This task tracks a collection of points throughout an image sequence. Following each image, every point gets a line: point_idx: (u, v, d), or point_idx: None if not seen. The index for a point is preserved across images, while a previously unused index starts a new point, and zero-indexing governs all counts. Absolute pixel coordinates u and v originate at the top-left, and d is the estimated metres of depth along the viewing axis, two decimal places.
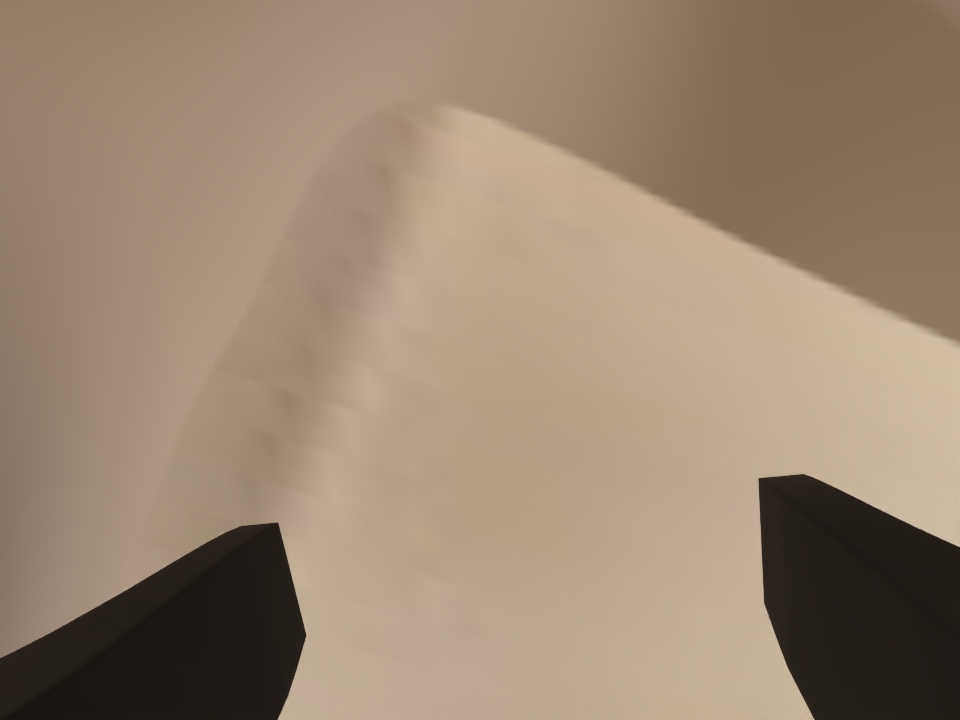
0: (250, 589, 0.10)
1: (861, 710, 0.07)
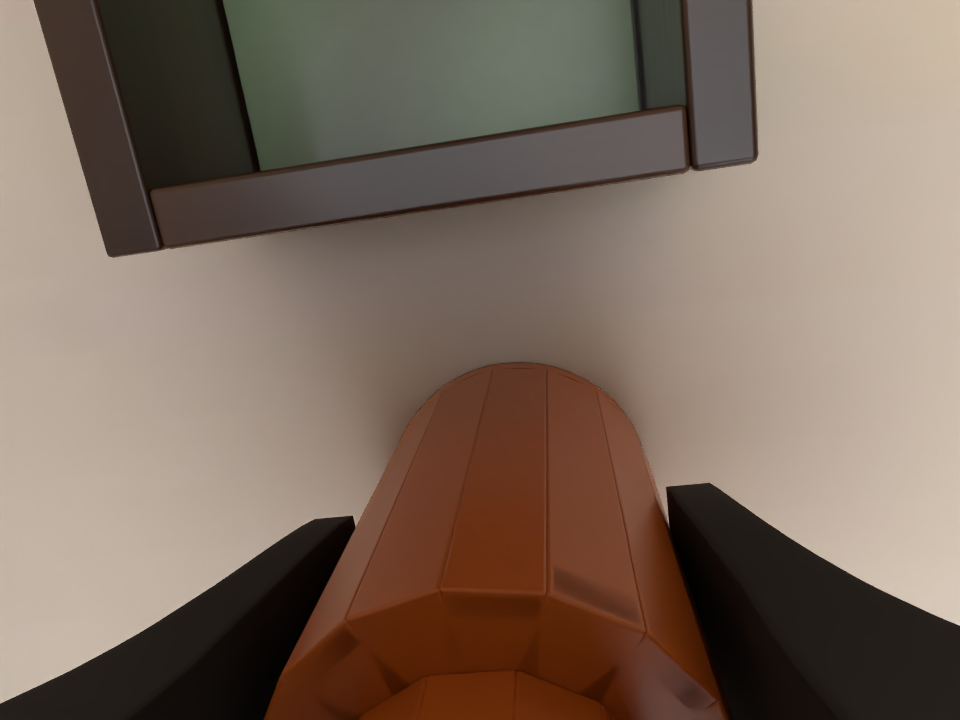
0: None
1: (736, 716, 0.07)
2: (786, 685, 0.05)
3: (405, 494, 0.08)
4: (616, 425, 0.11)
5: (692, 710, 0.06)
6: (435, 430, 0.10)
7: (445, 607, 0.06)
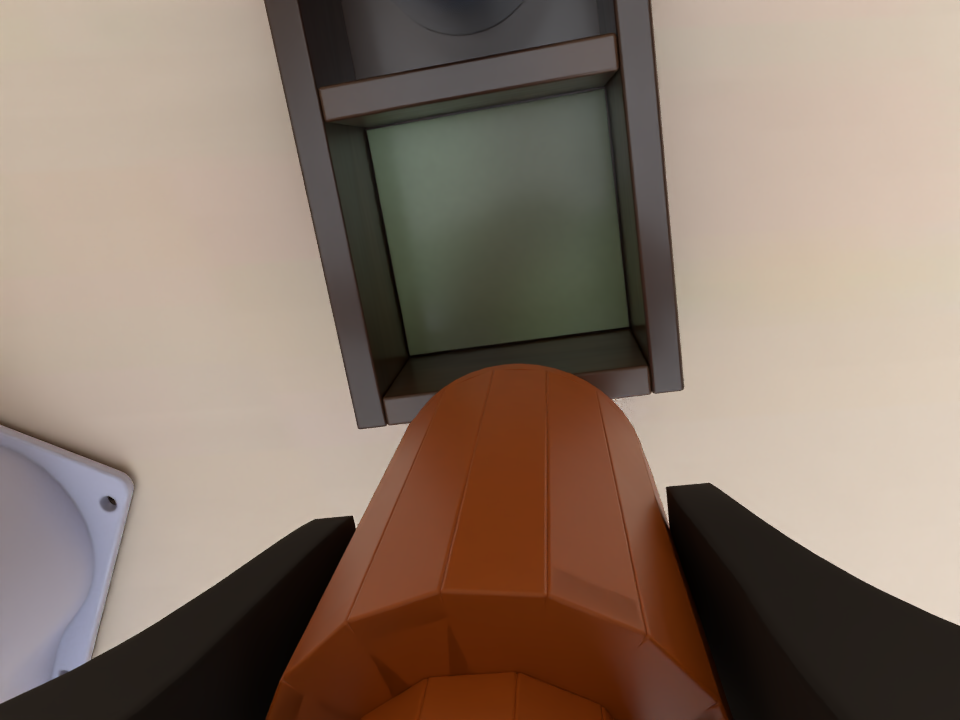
0: None
1: (736, 717, 0.07)
2: (786, 685, 0.05)
3: (405, 496, 0.08)
4: (616, 426, 0.11)
5: (692, 712, 0.06)
6: (435, 431, 0.10)
7: (446, 609, 0.06)
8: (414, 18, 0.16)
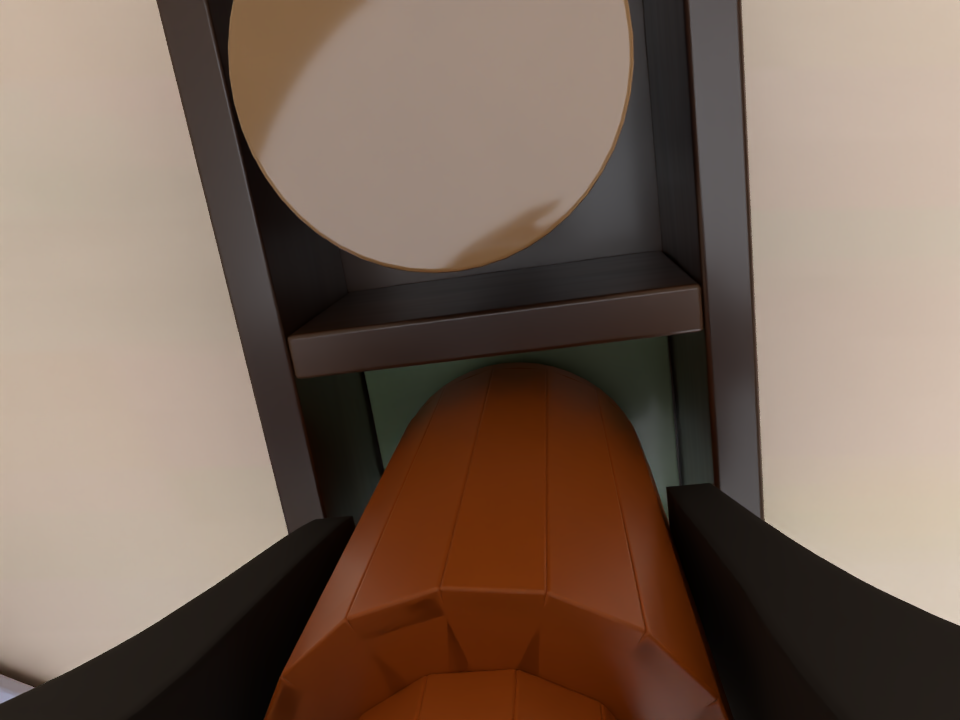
0: None
1: (736, 716, 0.07)
2: (786, 685, 0.05)
3: (405, 494, 0.08)
4: (616, 425, 0.11)
5: (692, 709, 0.06)
6: (435, 430, 0.10)
7: (445, 606, 0.06)
8: None
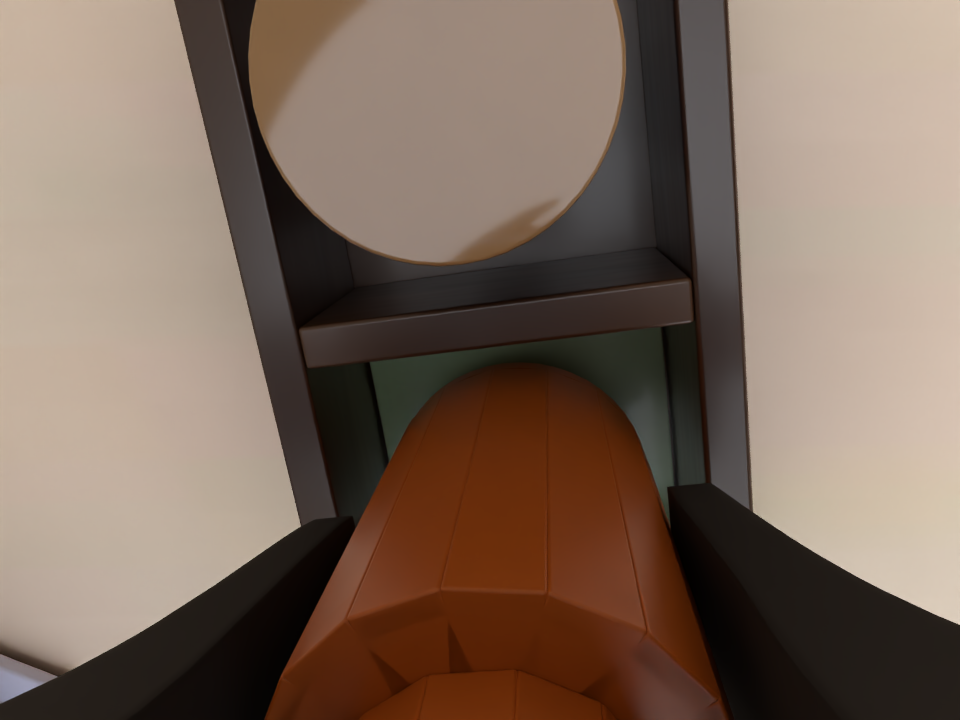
0: None
1: (737, 716, 0.07)
2: (788, 685, 0.05)
3: (405, 494, 0.08)
4: (616, 425, 0.11)
5: (692, 710, 0.06)
6: (435, 430, 0.10)
7: (446, 607, 0.06)
8: None
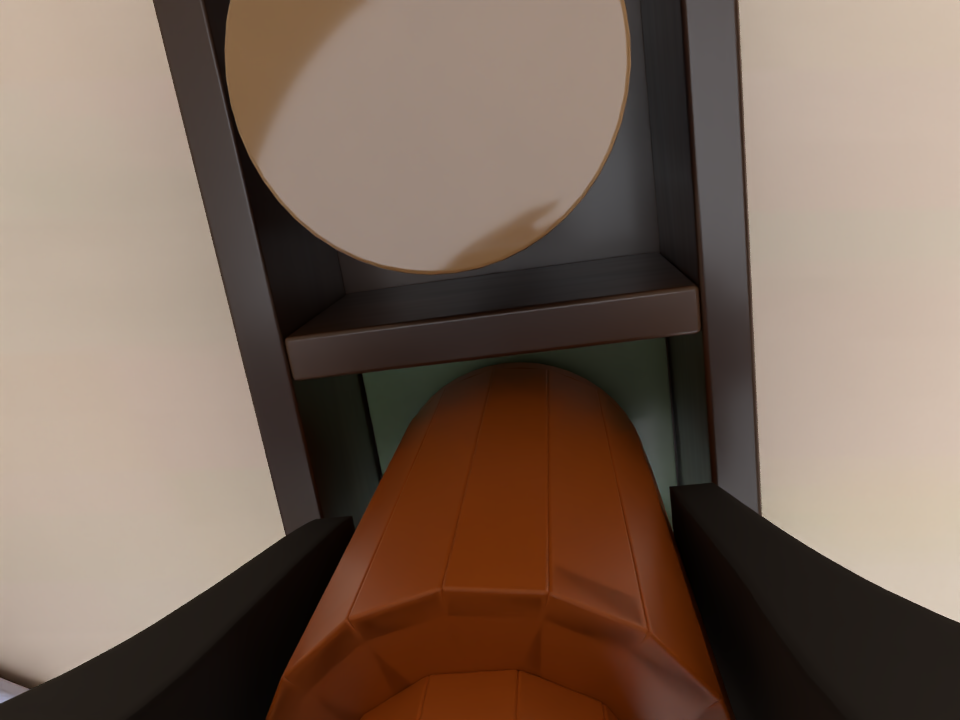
0: None
1: (740, 716, 0.07)
2: (792, 685, 0.05)
3: (406, 494, 0.08)
4: (617, 425, 0.11)
5: (694, 710, 0.06)
6: (436, 430, 0.10)
7: (447, 607, 0.06)
8: None
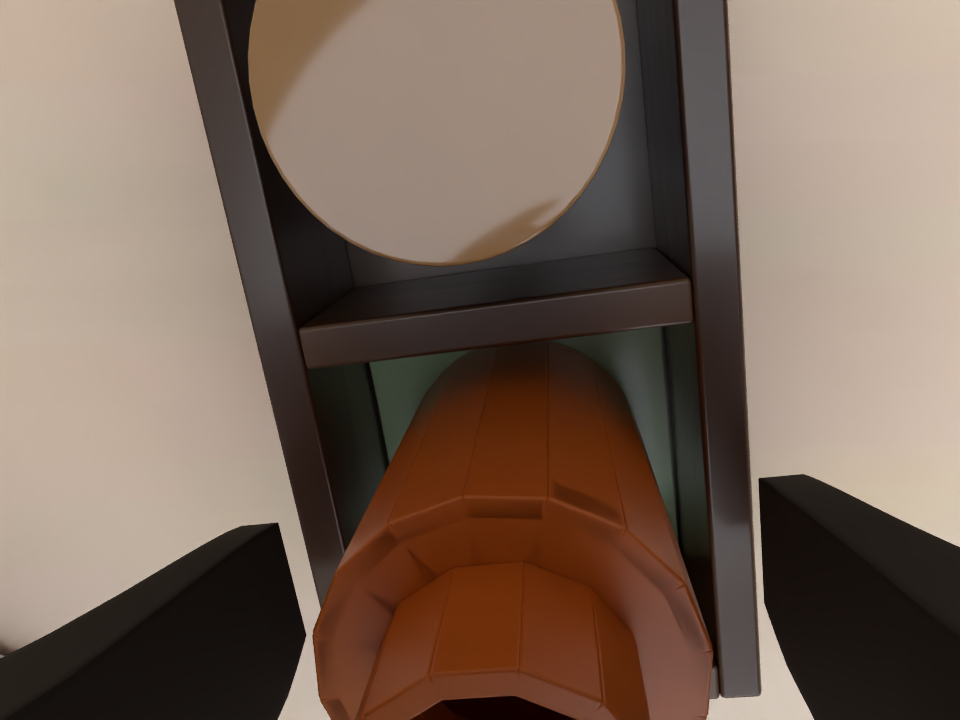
0: (250, 589, 0.10)
1: (861, 710, 0.07)
2: None
3: (429, 439, 0.10)
4: (608, 390, 0.13)
5: (663, 592, 0.08)
6: (451, 392, 0.12)
7: (468, 511, 0.08)
8: None
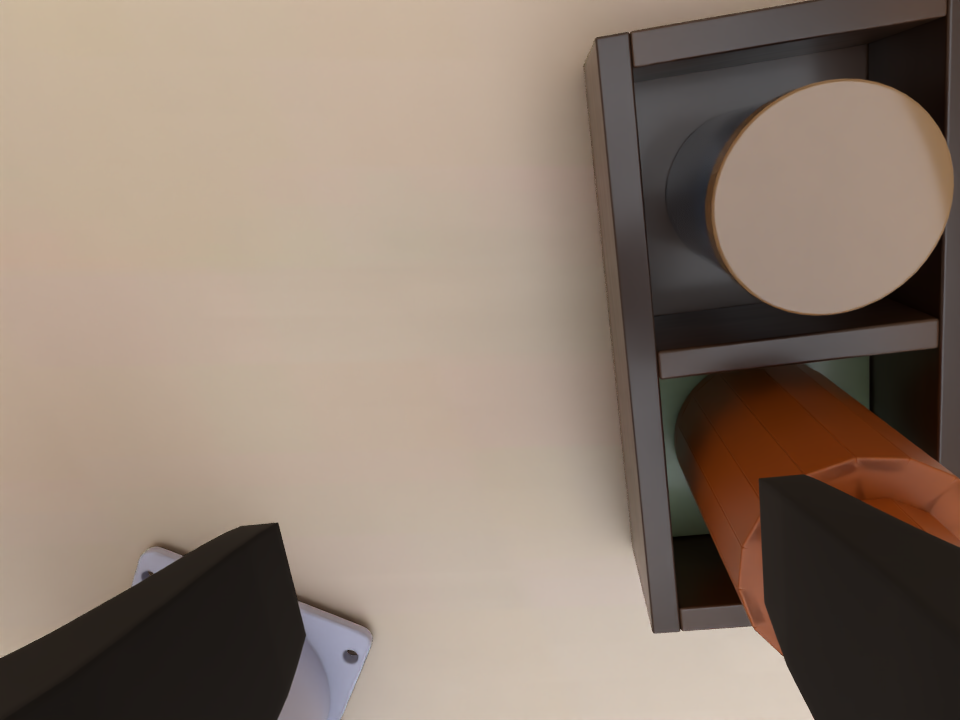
0: (250, 589, 0.10)
1: (861, 710, 0.07)
2: None
3: (771, 426, 0.15)
4: None
5: None
6: (748, 395, 0.17)
7: (858, 466, 0.13)
8: None
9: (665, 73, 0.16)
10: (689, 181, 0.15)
